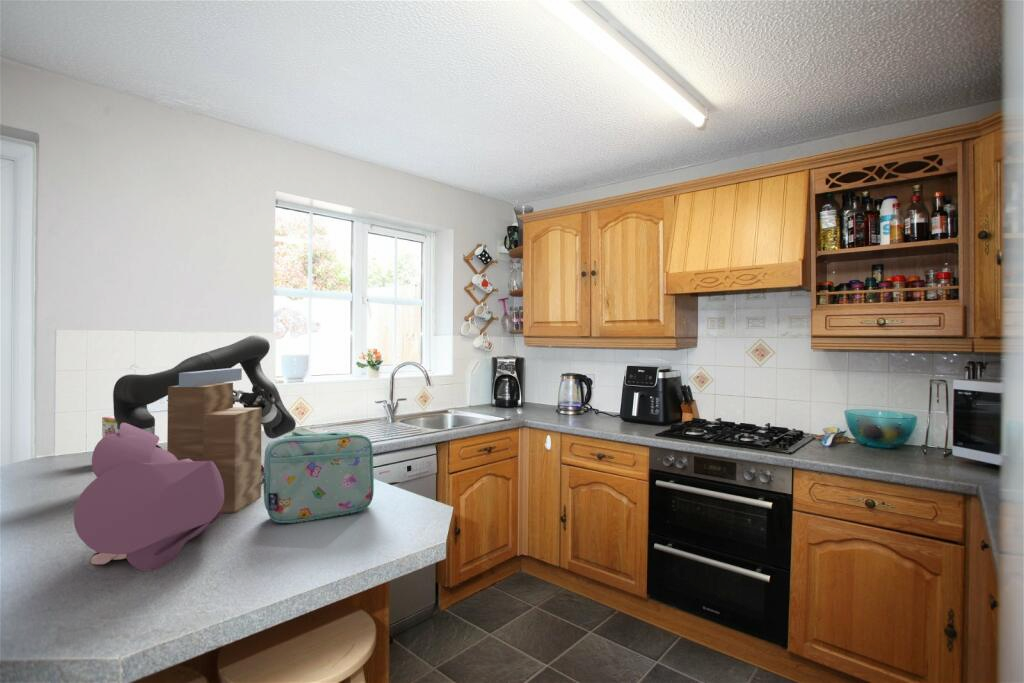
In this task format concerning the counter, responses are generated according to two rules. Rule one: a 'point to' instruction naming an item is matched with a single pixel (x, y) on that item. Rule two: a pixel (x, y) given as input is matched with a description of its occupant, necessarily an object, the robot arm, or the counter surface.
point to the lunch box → (317, 476)
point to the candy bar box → (108, 425)
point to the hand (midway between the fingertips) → (239, 387)
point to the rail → (209, 377)
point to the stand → (218, 438)
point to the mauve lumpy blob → (145, 500)
